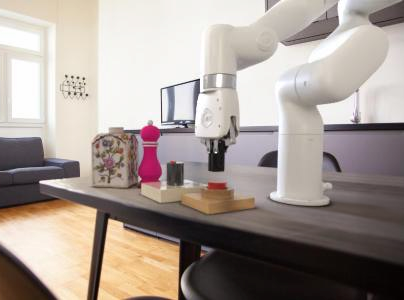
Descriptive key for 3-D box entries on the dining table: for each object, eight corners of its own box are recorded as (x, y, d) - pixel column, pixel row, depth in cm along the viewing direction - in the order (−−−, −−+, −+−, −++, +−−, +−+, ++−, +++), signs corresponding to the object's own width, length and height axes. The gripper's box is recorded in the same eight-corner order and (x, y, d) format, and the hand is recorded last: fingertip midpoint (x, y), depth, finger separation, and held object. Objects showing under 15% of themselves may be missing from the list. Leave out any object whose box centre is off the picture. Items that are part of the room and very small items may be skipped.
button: (218, 187, 67) (218, 179, 67) (230, 190, 63) (230, 182, 63) (204, 188, 65) (204, 180, 65) (215, 191, 61) (215, 183, 61)
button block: (223, 198, 71) (224, 182, 71) (254, 208, 62) (254, 189, 62) (181, 203, 66) (181, 186, 66) (208, 214, 57) (208, 194, 57)
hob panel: (186, 190, 83) (186, 179, 82) (210, 197, 73) (210, 185, 72) (141, 194, 76) (141, 182, 76) (160, 203, 66) (160, 189, 66)
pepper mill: (162, 189, 84) (162, 119, 83) (137, 188, 84) (137, 119, 83) (161, 184, 92) (162, 120, 91) (138, 184, 92) (138, 120, 91)
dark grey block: (187, 184, 73) (187, 161, 73) (171, 186, 71) (171, 162, 71) (178, 182, 77) (178, 160, 77) (163, 183, 75) (163, 160, 75)
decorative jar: (139, 182, 96) (139, 127, 95) (128, 188, 85) (128, 126, 84) (105, 181, 99) (105, 127, 98) (90, 187, 87) (89, 126, 86)
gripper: (184, 89, 68) (183, 168, 69) (227, 78, 55) (225, 176, 55) (211, 92, 71) (209, 167, 72) (257, 82, 58) (254, 174, 59)
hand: (216, 171), depth 64 cm, fingers closed
